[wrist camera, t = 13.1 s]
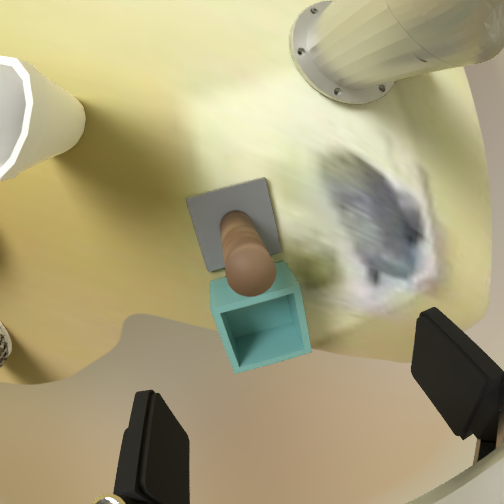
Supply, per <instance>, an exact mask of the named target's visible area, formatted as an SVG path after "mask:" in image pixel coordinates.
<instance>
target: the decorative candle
mask: <svg viewBox="0 0 504 504" xmlns="http://www.w3.org/2000/svg"><path fill="white" fill-rule="evenodd" d="M11 351H12V341H11V339H10V336H9V333H8V331H7V330H6V328H5V327H4V325H3V324H2V322H1V321H0V368H1V367H2V365H3V363H4V362H5V361H6V360H7V357H8V356H9V355H10V353H11Z"/></svg>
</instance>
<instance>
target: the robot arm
mask: <svg viewBox="0 0 504 504" xmlns="http://www.w3.org/2000/svg"><path fill="white" fill-rule="evenodd" d="M312 13H313V14H312ZM503 48H504V0H331V1H322V2H318V3H315V4H313V5H311V6H309V7H307V8H306V9H305V10H304V11H303V12H302V13H301V14H300V15H299V16H298V17H297V19H296V20H295V22H294V24H293V26H292V29H291V33H290V50H291V54H292V58H293V60H294V62H295V65H296V67H297V69H298V70H299V72H300V73H301V75H302V76H303V77H304V79H305V80H306V81H307V82H308V83H309V84H310V85H311V86H312V87H313V88H315V89H316V90H317V91H318V92H320V93H321V94H323V95H325V96H327V97H328V98H330V99H333V100H335V101H338V102H341V103H347V104H364V103H369V102H372V101H375V100H378V99H379V98H381V97H383V96H384V95H385V94H386V93H387V92H388V91H389V90H390V89H391V88H392V86H393V84H394V83H395V81H396V80H400V79H404V78H408V77H412V76H417V75H421V74H426V73H430V72H435V71H440V70H445V69H451V68H456V67H462V66H467V65H472V64H478V63H482V62H485V61H488V60H490V59H492V58H494V57H495V56H496V55H497V54H499V53H500V51H501V50H502V49H503ZM297 52H300V53H301V55H299V54H298V53H297ZM379 89H380V90H379ZM334 91H336V95H335V93H334ZM411 373H412V375H413V377H414V379H415V380H416V381H417V382H418V384H419V385H420V387H421V388H422V389H423V391H424V392H425V393H426V395H427V396H428V398H429V399H430V400H431V402H432V403H433V404H434V406H435V407H436V409H437V410H438V411H439V413H440V414H441V415H442V417H443V418H444V420H445V421H446V423H447V424H448V426H449V427H450V428H451V430H452V431H453V433H454V434H455V435H456V436H460V437H461V438H462V440H464V439H466V438H467V437H469V436H470V435H472V434H474V435H475V436H476V438H477V443H476V449H475V456H474V461H473V466H471V467H469V468H468V469H466V470H465V471H463V472H462V473H460V474H459V475H457V476H455V477H454V478H452V479H450V480H449V481H447V482H445V483H444V484H442V485H440V486H439V487H437V488H435V489H433V490H431V491H430V492H428V493H426V494H424V495H422V496H420V497H418V498H416V499H414V500H412V501H410V502H408V503H406V504H504V371H503V370H502V369H501V368H500V367H499V366H498V365H497V364H496V363H495V362H494V361H493V360H492V359H491V358H490V357H489V356H488V355H487V354H486V353H485V352H484V351H483V350H482V349H481V348H479V346H478V345H477V344H475V343H474V342H473V341H472V340H471V339H470V338H469V337H468V336H467V335H466V334H465V333H464V332H463V331H462V330H461V329H460V328H458V327H457V326H456V325H455V324H454V323H453V322H452V321H451V320H450V319H449V318H447V317H446V316H445V315H444V314H443V313H442V312H441V311H440V310H439V309H437V308H436V307H432V308H430V309H428V310H426V311H423V312H421V313H420V316H419V318H418V319H417V322H416V332H415V342H414V350H413V357H412V365H411ZM92 504H190V493H189V438H188V435H187V433H186V432H185V431H184V429H183V428H182V426H181V425H180V424H179V422H178V421H177V419H176V418H175V416H174V415H173V413H172V412H171V410H170V409H169V407H168V406H167V404H166V403H165V401H164V400H163V398H162V397H161V395H160V394H159V393H155V392H154V391H153V390H147V391H140V392H137V393H136V394H135V398H134V402H133V407H132V412H131V417H130V421H129V427H128V428H127V429H126V430H125V432H124V435H123V440H122V445H121V451H120V456H119V462H118V467H117V474H116V480H115V486H114V493H113V494H103V495H101V496H99V497H97V498H96V499H95V500H94V501H93V502H92Z"/></svg>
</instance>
